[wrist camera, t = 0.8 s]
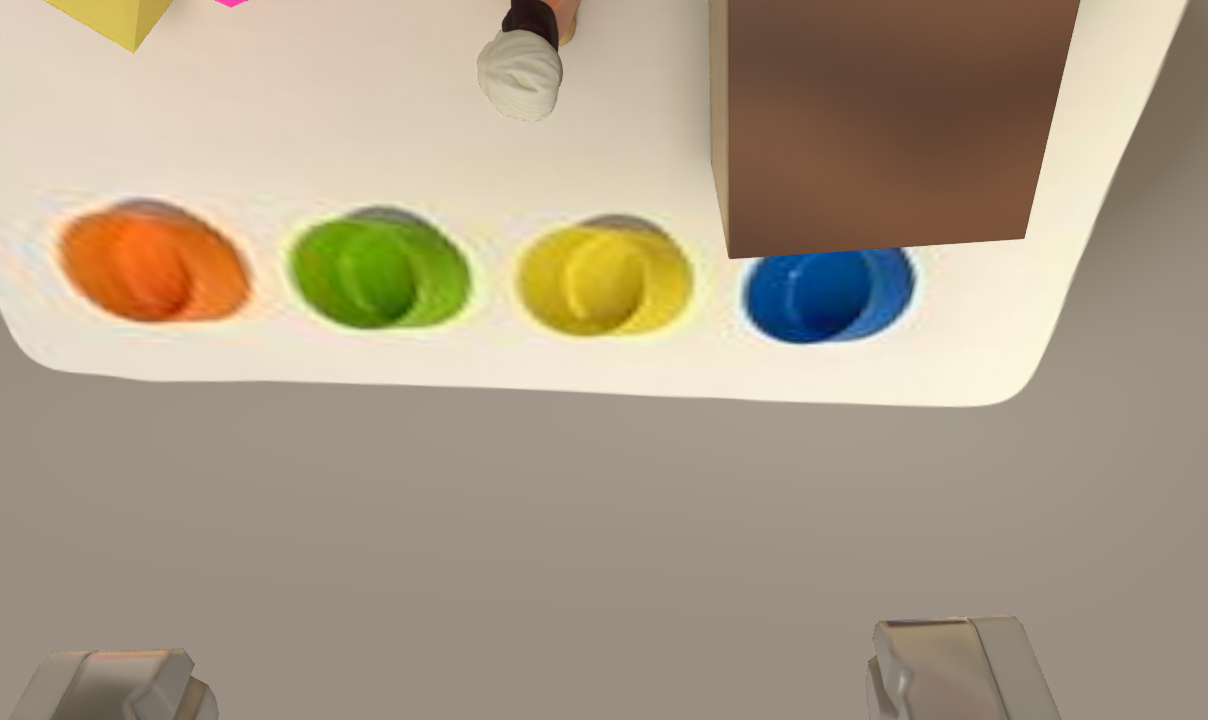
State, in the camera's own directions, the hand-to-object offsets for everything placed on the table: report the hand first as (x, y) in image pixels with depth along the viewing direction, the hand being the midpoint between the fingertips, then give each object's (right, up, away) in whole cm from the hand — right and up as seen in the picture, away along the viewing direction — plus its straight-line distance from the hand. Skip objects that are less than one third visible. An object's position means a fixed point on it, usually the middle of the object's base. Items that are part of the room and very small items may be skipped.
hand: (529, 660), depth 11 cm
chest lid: (+12, +16, +26) cm, 33 cm away
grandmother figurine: (-2, +22, +33) cm, 40 cm away
